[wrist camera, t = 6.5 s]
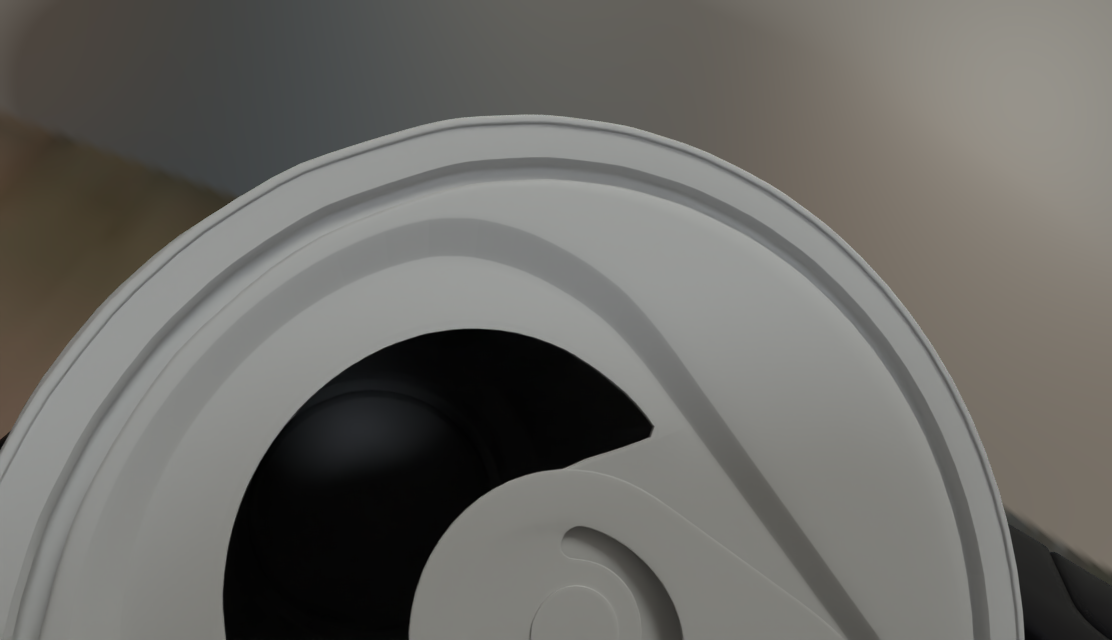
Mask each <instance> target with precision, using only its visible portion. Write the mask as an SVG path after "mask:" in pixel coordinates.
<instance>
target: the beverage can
mask: <svg viewBox="0 0 1112 640" xmlns="http://www.w3.org/2000/svg"><path fill="white" fill-rule="evenodd" d="M0 640H1025V637H1024V622H1023V610H1022V602H1021V594H1020V587H1019V579H1018V572H1017V566H1016V561H1015V556H1014V551H1013V546H1012V541H1011V536H1010V531H1009V527H1008V523H1007V519H1006V516H1005V512H1004V508H1003V504H1002V501H1001V497H1000V493H999V490H998V487H997V484H996V481H995V478H994V475H993V472H992V469H991V466H990V463H989V460H988V457H987V455H986V452H985V449H984V447H983V445H982V442H981V440H980V437H979V435H978V432H977V430H976V428H975V425H974V423H973V420H972V418H971V416H970V414H969V412H968V410H967V408H966V405H965V403H964V402H963V399H962V397H961V396H960V393H959V391H958V389H957V388H956V385H955V384H954V381H953V380H952V378H951V376H950V375H949V373H948V371H947V369H946V368H945V366H944V364H943V363H942V361H941V359H940V357H939V356H938V354H937V352H936V351H935V349H934V347H933V346H932V344H931V343H930V342H929V340H928V338H927V337H926V336H925V334H924V333H923V331H922V330H921V328H920V327H919V325H918V324H917V323H916V321H915V320H914V318H913V317H912V315H911V314H910V313H909V311H908V310H907V309H906V308H905V306H904V305H903V304H902V303H901V302H900V300H899V299H898V298H897V296H896V295H895V294H894V293H893V292H892V290H891V289H890V288H889V286H888V285H887V284H886V283H885V282H884V281H883V280H882V279H881V278H880V277H879V275H878V274H877V273H876V272H875V271H874V270H873V269H872V268H871V267H870V266H869V265H868V264H867V263H866V261H865V260H864V259H863V258H862V257H861V256H860V255H859V254H857V252H855V251H854V250H853V249H852V248H851V247H850V246H849V245H848V244H847V243H846V242H845V241H844V240H843V239H842V238H841V237H840V236H839V235H838V234H837V233H835V232H834V231H833V230H832V229H831V228H829V227H828V226H827V225H826V224H825V223H823V222H822V221H821V220H820V219H818V218H817V217H816V216H814V215H813V214H812V213H810V212H809V211H808V210H806V209H805V208H804V207H802V206H801V205H799V204H798V203H797V202H795V201H794V200H793V199H791V198H790V197H789V196H787V195H786V194H784V193H782V192H781V191H779V190H778V189H776V188H775V187H773V186H771V185H770V184H768V183H767V182H765V181H763V180H761V179H759V178H757V177H755V176H754V175H752V174H750V173H748V172H746V171H744V170H742V169H741V168H739V167H737V166H734V165H733V164H730V163H728V162H726V161H724V160H722V159H720V158H718V157H716V156H714V155H712V154H710V153H707V152H705V151H703V150H700V149H697V148H695V147H692V146H690V145H687V144H685V143H681V142H678V141H675V140H672V139H669V138H665V137H663V136H659V135H656V134H653V133H650V132H646V131H643V130H640V129H636V128H632V127H629V126H623V125H618V124H612V123H607V122H600V121H592V120H585V119H577V118H571V117H562V116H552V115H502V116H478V117H465V118H456V119H450V120H444V121H438V122H434V123H430V124H426V125H422V126H418V127H414V128H410V129H407V130H404V131H400V132H397V133H393V134H390V135H386V136H383V137H379V138H376V139H373V140H369V141H366V142H363V143H360V144H357V145H354V146H350V147H347V148H344V149H341V150H338V151H335V152H332V153H329V154H326V155H323V156H320V157H318V158H315V159H312V160H309V161H306V162H304V163H301V164H299V165H297V166H295V167H293V168H291V169H289V170H287V171H285V172H283V173H281V174H279V175H276V176H274V177H273V178H271V179H269V180H267V181H266V182H264V183H262V184H261V185H259V186H257V187H256V188H254V189H253V190H250V191H249V192H247V193H245V194H244V195H242V196H240V197H239V198H237V199H235V200H234V201H232V202H231V203H229V204H228V205H226V206H225V207H223V208H221V209H220V210H218V211H217V212H215V213H213V214H212V215H210V216H209V217H207V218H205V219H204V220H202V221H201V222H199V223H198V224H196V225H195V226H193V227H192V228H190V229H189V230H187V231H186V232H184V233H183V234H181V235H179V236H178V237H177V238H176V239H174V240H173V241H172V242H170V243H169V244H168V245H166V246H165V247H164V248H163V249H161V250H160V251H159V252H157V253H156V254H155V255H154V256H153V257H152V258H150V259H149V260H148V261H147V262H146V263H145V264H144V265H143V266H141V267H140V268H139V269H138V270H137V271H136V272H135V273H134V274H132V275H131V276H130V277H129V278H128V279H127V280H126V281H125V282H123V283H122V284H121V285H120V286H119V287H118V288H117V289H116V290H115V291H114V292H113V293H112V294H111V295H110V296H109V297H108V298H107V299H106V300H105V301H104V302H103V303H102V304H101V305H100V306H99V307H98V308H97V310H96V311H95V312H94V313H93V314H92V316H91V317H90V318H89V319H88V320H87V322H86V323H85V324H84V325H83V326H82V328H81V329H80V330H79V331H78V332H77V333H76V335H75V336H74V337H73V338H72V339H71V341H70V342H69V343H68V345H67V346H66V347H65V348H64V350H63V351H62V352H61V354H60V355H59V356H58V358H57V359H56V360H55V362H54V363H53V364H52V366H51V367H50V368H49V370H48V371H47V372H46V374H45V375H44V376H43V378H42V379H41V381H40V382H39V384H38V385H37V387H36V389H35V390H34V392H33V393H32V395H31V396H30V398H29V400H28V401H27V403H26V404H25V406H24V408H23V410H22V411H21V413H20V415H19V417H18V419H17V421H16V422H15V424H14V426H13V428H12V430H11V432H10V434H9V435H8V437H7V439H6V441H5V443H4V445H3V446H2V448H1V450H0Z"/></svg>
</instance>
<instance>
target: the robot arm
mask: <svg viewBox="0 0 1112 640" xmlns="http://www.w3.org/2000/svg"><path fill="white" fill-rule="evenodd" d="M10 432H11V431H10ZM10 432H9V433H8V434H6V435H5V436H4V437H3V438H2V439H1V440H0V450H1V448H2V446H3V445H4V443H5V441H6V439H7V437H8V435H9V434H10ZM1008 527H1009V531H1010V536H1011V541H1012V546H1013V551H1014V556H1015V561H1016V566H1017V572H1018V579H1019V587H1020V594H1021V602H1022V610H1023V622H1024V637H1025V640H1112V586H1111V585H1109V584H1107V583H1106V582H1104V581H1102V580H1101V579H1099V578H1097V577H1095V576H1094V575H1092V574H1090V573H1089V572H1087V571H1085V570H1084V569H1082V568H1081V567H1079V566H1077V565H1076V564H1074V563H1072V562H1071V561H1069V560H1067V559H1066V558H1064V557H1063V556H1061V555H1059V554H1058V553H1056V552H1049V550H1048V548H1047V547H1046V546H1044V545H1043V544H1041V543H1039V542H1038V541H1036V540H1034V539H1033V538H1031V537H1029V536H1028V535H1026V534H1024V533H1023V532H1021V531H1019V530H1018V529H1016V528H1014V527H1013V526H1011V525H1010V524H1008Z"/></svg>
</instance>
